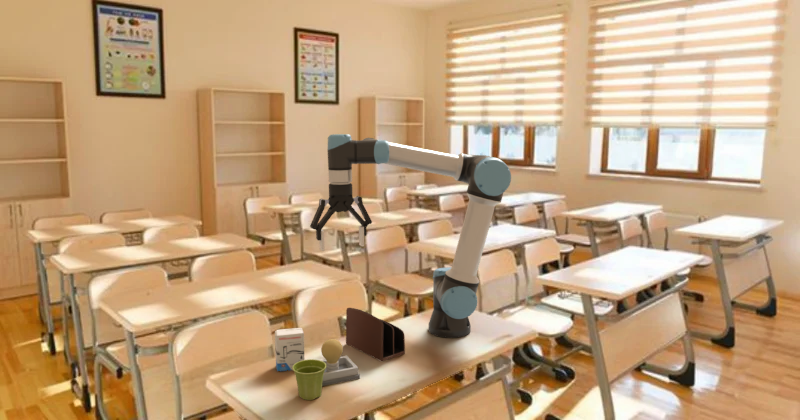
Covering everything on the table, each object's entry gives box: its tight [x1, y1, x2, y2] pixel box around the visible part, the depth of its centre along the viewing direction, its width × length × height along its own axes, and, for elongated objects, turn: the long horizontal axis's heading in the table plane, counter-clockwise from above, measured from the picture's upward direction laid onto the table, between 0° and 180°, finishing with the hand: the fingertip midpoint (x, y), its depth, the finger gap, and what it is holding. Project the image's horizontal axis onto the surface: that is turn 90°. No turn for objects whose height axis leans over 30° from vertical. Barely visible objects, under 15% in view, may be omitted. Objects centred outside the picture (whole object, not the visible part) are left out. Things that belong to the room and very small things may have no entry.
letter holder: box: [345, 307, 406, 362], centre depth 200 cm, size 10×20×14 cm, turn 40°
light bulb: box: [320, 338, 344, 372], centre depth 181 cm, size 6×6×10 cm
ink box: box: [274, 327, 305, 372], centre depth 187 cm, size 9×5×12 cm, turn 105°
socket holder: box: [320, 355, 361, 387], centre depth 181 cm, size 13×12×3 cm
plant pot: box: [292, 358, 326, 401], centre depth 168 cm, size 9×9×9 cm
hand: (342, 247), depth 196 cm, fingers open, 13 cm apart
